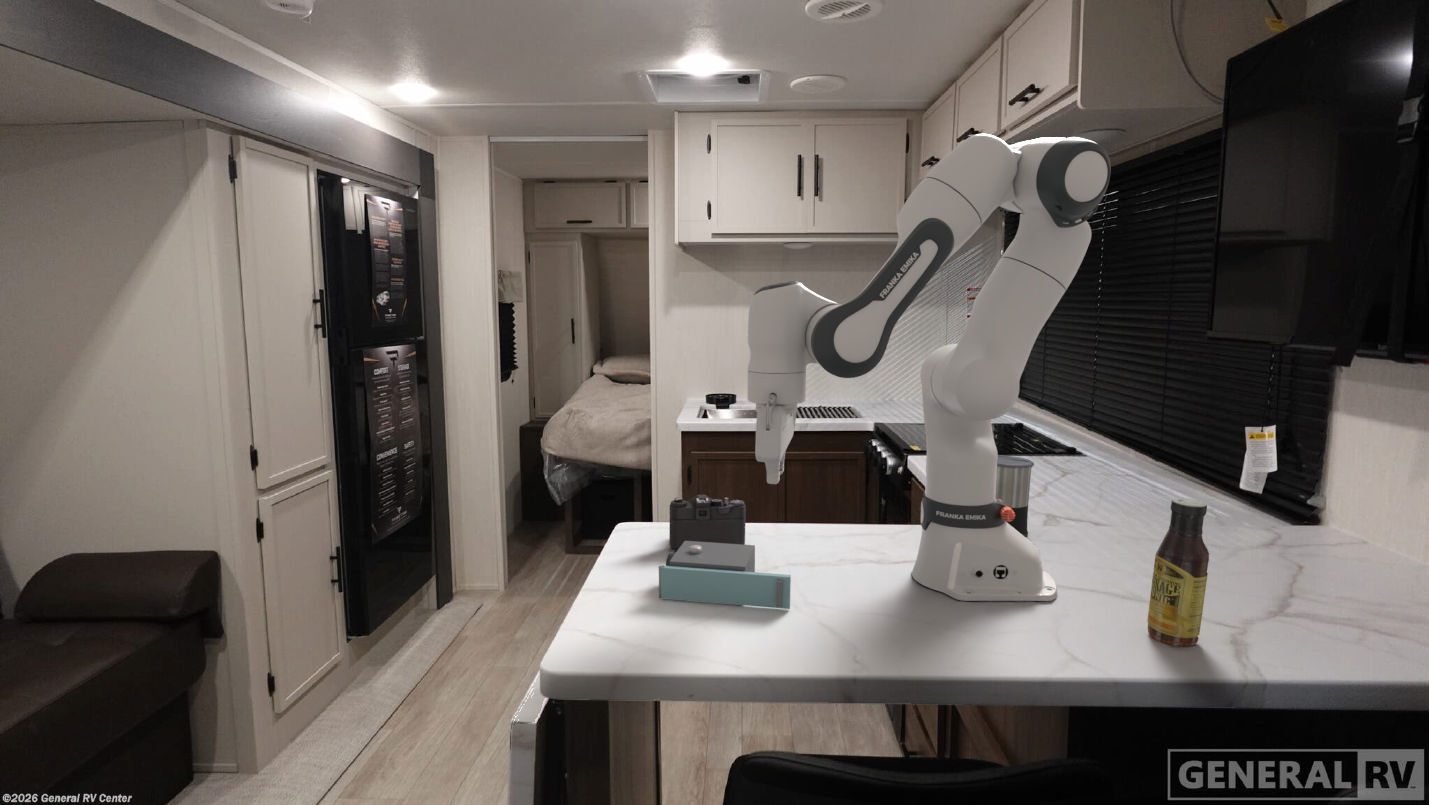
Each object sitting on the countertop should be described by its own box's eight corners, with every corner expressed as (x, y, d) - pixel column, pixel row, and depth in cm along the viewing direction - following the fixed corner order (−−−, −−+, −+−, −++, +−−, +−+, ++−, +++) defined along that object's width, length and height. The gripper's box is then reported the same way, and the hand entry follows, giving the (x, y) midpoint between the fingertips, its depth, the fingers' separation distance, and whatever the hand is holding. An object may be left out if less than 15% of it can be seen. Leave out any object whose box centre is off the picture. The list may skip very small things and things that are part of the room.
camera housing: (754, 579, 125) (755, 540, 124) (745, 604, 115) (745, 561, 114) (677, 573, 128) (676, 535, 127) (661, 597, 118) (660, 555, 117)
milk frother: (1023, 526, 154) (1027, 455, 152) (1042, 552, 138) (1047, 474, 136) (951, 522, 156) (954, 453, 154) (962, 547, 141) (966, 470, 139)
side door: (790, 606, 113) (790, 575, 113) (789, 611, 112) (789, 579, 111) (660, 595, 118) (659, 565, 117) (656, 600, 116) (656, 569, 115)
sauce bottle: (1136, 630, 106) (1148, 494, 103) (1177, 628, 107) (1190, 493, 104) (1167, 651, 100) (1181, 508, 97) (1211, 650, 100) (1226, 506, 98)
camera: (738, 533, 150) (739, 485, 148) (747, 552, 139) (747, 500, 137) (667, 535, 148) (667, 486, 147) (670, 554, 137) (669, 502, 136)
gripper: (790, 399, 103) (789, 497, 105) (802, 382, 123) (801, 464, 125) (745, 398, 104) (744, 494, 106) (764, 381, 124) (763, 462, 126)
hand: (775, 478), depth 116 cm, fingers open, 4 cm apart
